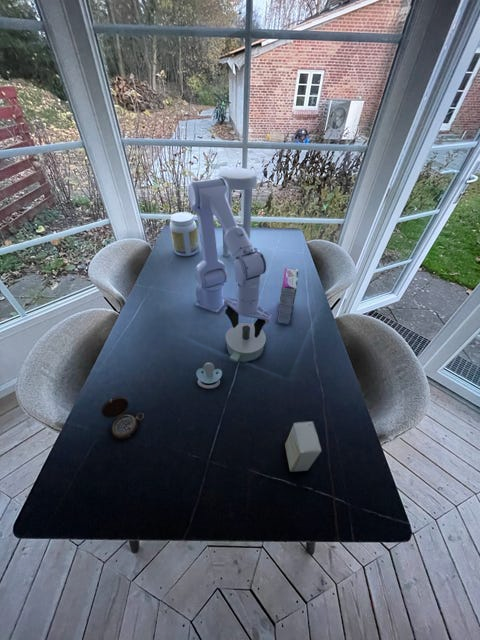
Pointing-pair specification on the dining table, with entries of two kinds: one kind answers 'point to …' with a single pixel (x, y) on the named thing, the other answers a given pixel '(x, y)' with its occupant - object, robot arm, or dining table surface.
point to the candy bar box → (287, 295)
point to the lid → (245, 339)
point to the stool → (246, 182)
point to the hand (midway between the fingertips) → (246, 330)
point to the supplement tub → (184, 234)
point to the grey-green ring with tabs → (243, 355)
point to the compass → (120, 417)
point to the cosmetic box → (302, 446)
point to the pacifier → (208, 376)
